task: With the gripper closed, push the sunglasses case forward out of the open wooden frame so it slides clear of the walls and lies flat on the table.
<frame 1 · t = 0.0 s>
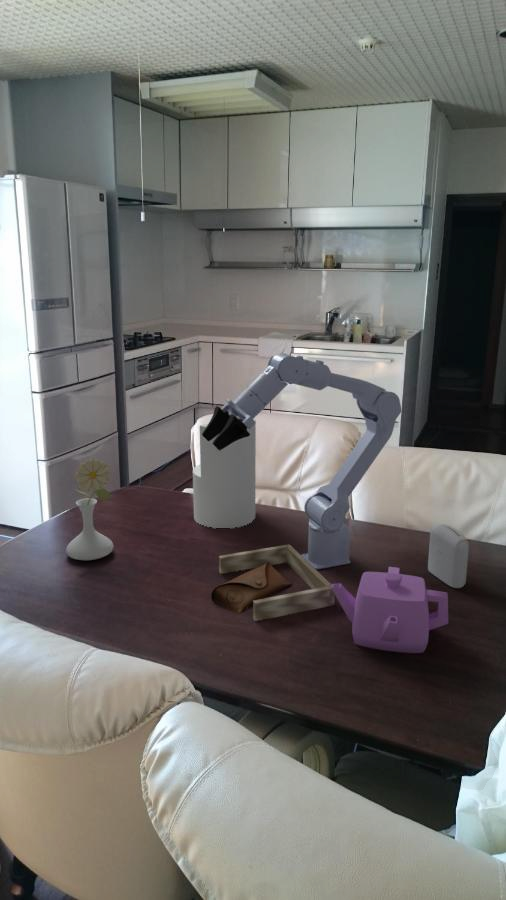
hand: (210, 442, 136), 32 cm above the table, tool tilted 50°, fingers open, 7 cm apart
cylinder: (224, 517, 181), on the table
teakettle: (387, 635, 124), on the table
flower in vase: (93, 555, 158), on the table
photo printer: (445, 579, 146), on the table
sunglasses case: (253, 594, 140), on the table
open wooden frame: (274, 587, 142), on the table
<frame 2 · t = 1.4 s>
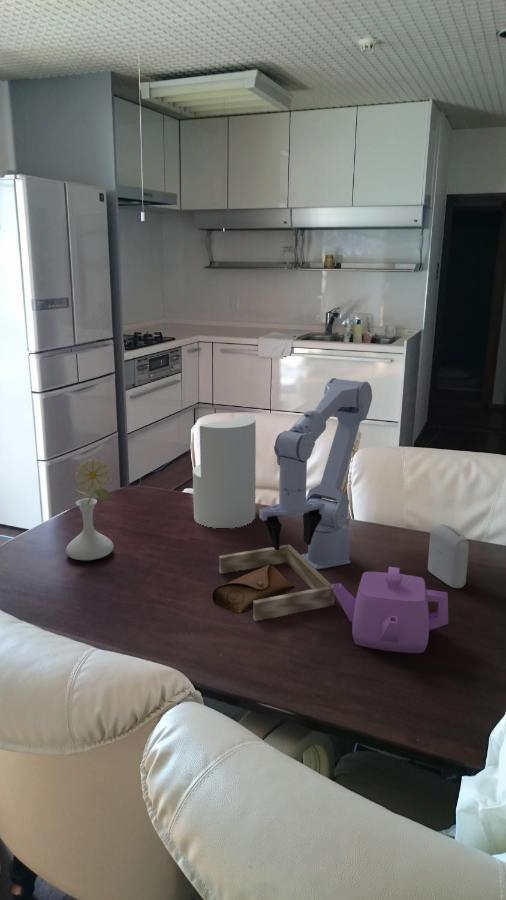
hand: (291, 545, 141), 9 cm above the table, tool pointing down, fingers open, 7 cm apart
nothing on the table moved.
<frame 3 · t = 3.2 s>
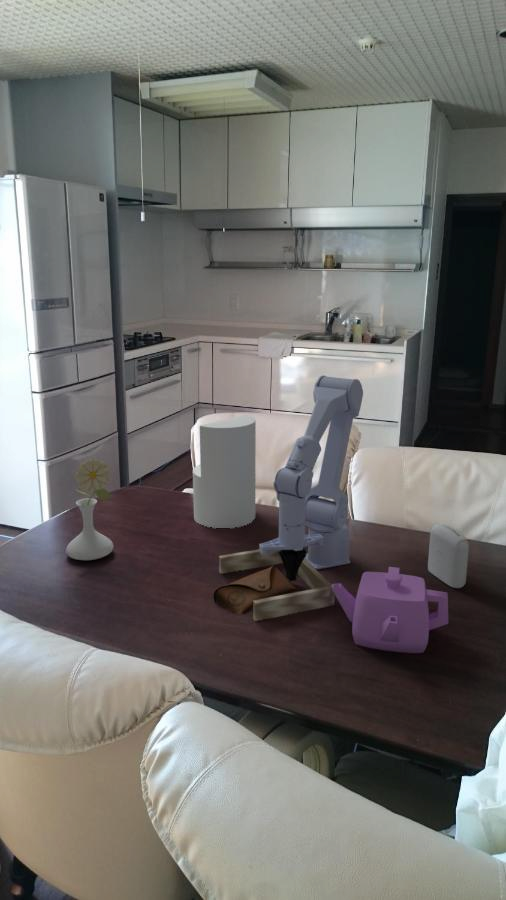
hand: (291, 578, 143), 1 cm above the table, tool pointing down, fingers closed
sunglasses case: (257, 597, 139), on the table, touching gripper
everything else where it was.
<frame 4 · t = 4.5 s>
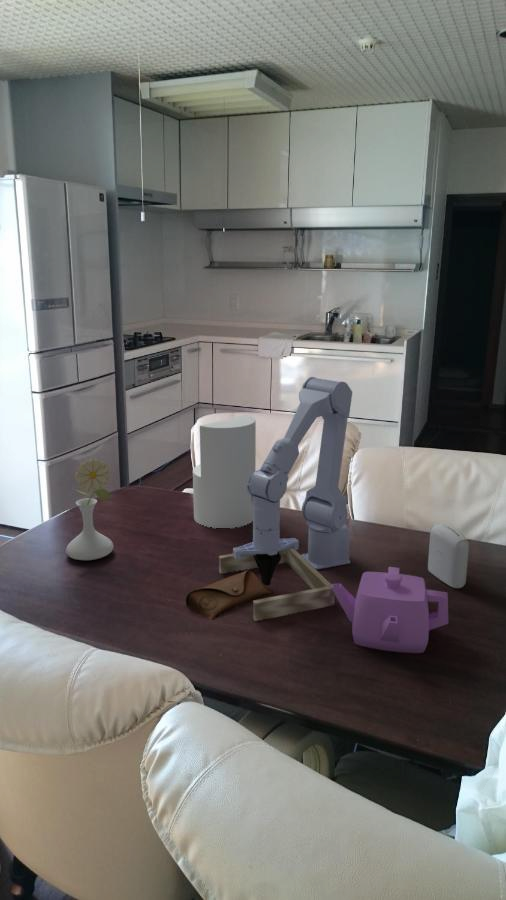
hand: (265, 583, 141), 1 cm above the table, tool pointing down, fingers closed
sunglasses case: (230, 601, 137), on the table, touching gripper
everything else where it was.
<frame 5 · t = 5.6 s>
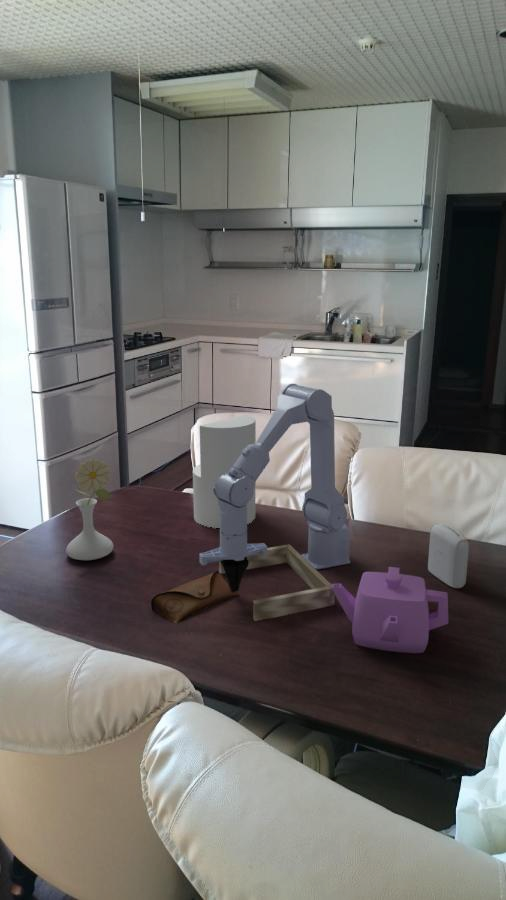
hand: (233, 589, 138), 1 cm above the table, tool pointing down, fingers closed
sunglasses case: (197, 604, 136), on the table, touching gripper
everything else where it was.
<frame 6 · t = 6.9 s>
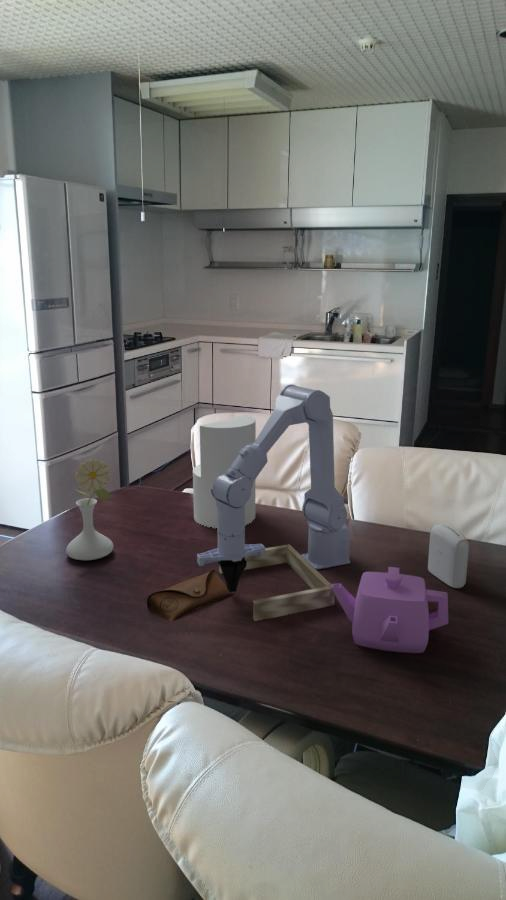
hand: (231, 589, 138), 1 cm above the table, tool pointing down, fingers closed
sunglasses case: (192, 602, 137), on the table, touching gripper
everything else where it was.
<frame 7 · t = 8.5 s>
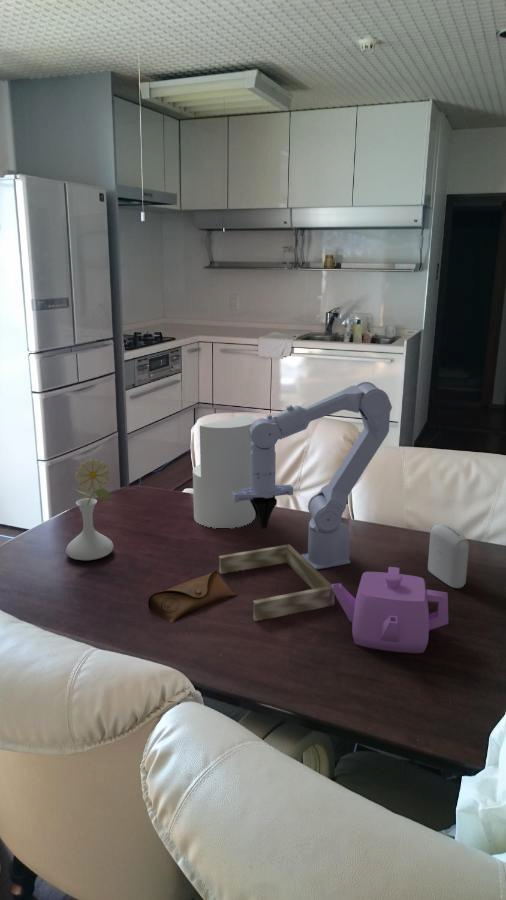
hand: (262, 526, 151), 9 cm above the table, tool pointing down, fingers closed
sunglasses case: (194, 603, 136), on the table
everything else where it was.
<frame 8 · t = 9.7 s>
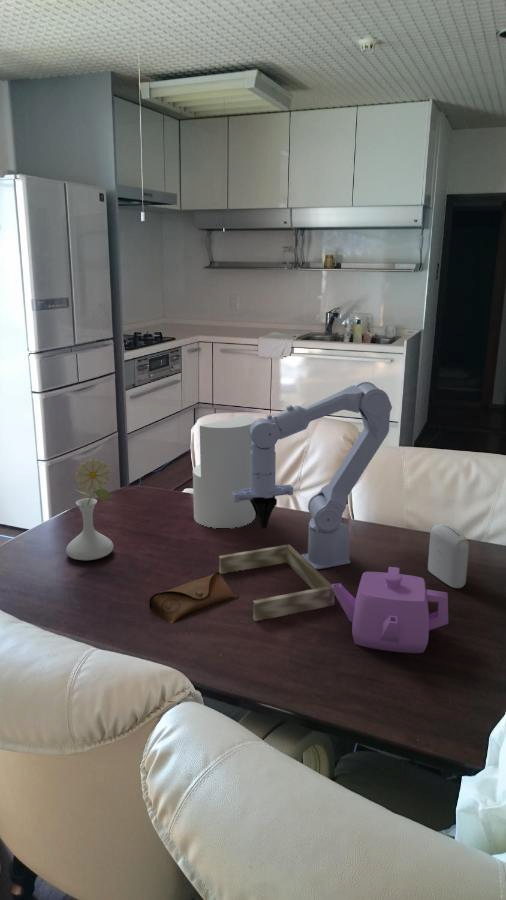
hand: (262, 526, 151), 9 cm above the table, tool pointing down, fingers closed
nothing on the table moved.
at the end: sunglasses case inside the target area (0.9 cm from its centre), on the table; sunglasses case touching table; sunglasses case tilted 0° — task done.
